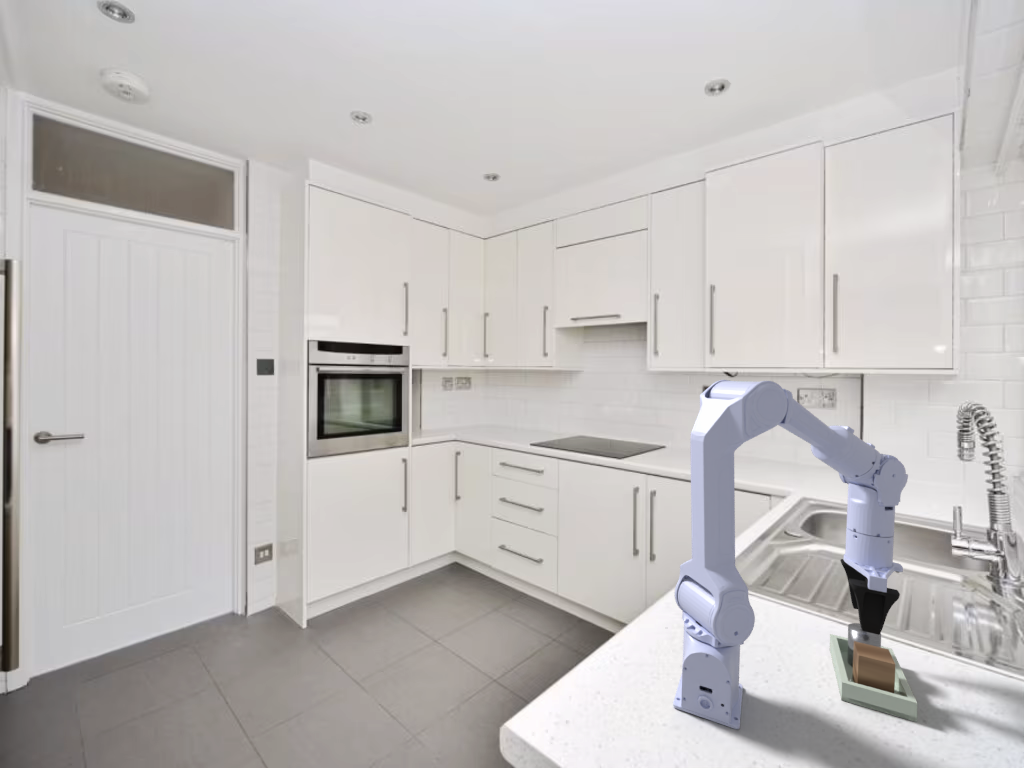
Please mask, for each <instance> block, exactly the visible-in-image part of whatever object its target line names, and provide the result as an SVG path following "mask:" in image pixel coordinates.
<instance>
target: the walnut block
mask: <svg viewBox="0 0 1024 768" xmlns="http://www.w3.org/2000/svg"><path fill="white" fill-rule="evenodd" d="M852 679H853V682H854V683H858V684H861V685H865V686H869V687H872V688H876V689H880V690H883V691H887V692H890V693H894V687H895V662H894V660H893V658H892V656H891V654H890V651H889V649H885V648H881V647H877V646H872V645H868V644H864V643H860V642H856V641H854V650H853V676H852Z"/></svg>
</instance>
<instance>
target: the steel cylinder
mask: <svg viewBox="0 0 1024 768" xmlns="http://www.w3.org/2000/svg"><path fill="white" fill-rule="evenodd" d="M847 627H848V628H847V638H848V659H847V661H848V664H849V665H850V666H851V667H853V650H854V641H856V642H860V643H864V644H868V645H872V646H877V647H881V646H882V632H881V633H880V635H878V634H873V633H869V632H865V631H862V628H861V625H860V622H859V623H857V622H854V623H853V622H850V623H848V625H847Z"/></svg>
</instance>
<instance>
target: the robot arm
mask: <svg viewBox="0 0 1024 768" xmlns="http://www.w3.org/2000/svg"><path fill="white" fill-rule="evenodd" d="M777 426H779V427H781V428H782V429H784V430H786V431H788V432H789V433H791V434H793V435H795V436H797V437H798V438H799V439H802V440H803V441H805V442H806V443H808V444H810V450H811V454H812V455H813V456H814V457H815V458H816V459H818V460H820V461H821V462H822V463H824V464H826V465H827V466H828V467H830V468H832V469H833V470H834V471H836V472H837V473H838V475H839V478H840V480H841V482H842V483H843V484H847V485H848V486H847V487H848V488H847V507H846V508H847V511H846V528H845V551H844V554H843V557H842V558H841V559H840V564H841V565H842V567H843V569H844V572H845V574H846V578H847V582H848V589H849V593H850V600H851V605H852V608H853V609H855V610H857V613H858V621H859V624H860V625H861V628H862V631H865V632H869V633H873V634H878V635H880V633H881V634H882V631H883V627H884V625H885V622H886V619H887V617H888V614H889V612H890V609H891V608H892V606H894V604H895V603H896V602H897V601H898V600H899V599H900V595H901V594H900V592H899V590H898V589H894V588H890V587H888V579H889V577H890V576H891V575H892V574H893V573H894V572H898V573H903V571H904V567H903V565H902V564H901V563H899V562H894V561H893V559H894V542H895V541H894V540H895V539H894V538H895V521H896V520H895V519H896V518H895V517H896V506H898V505H899V504H900V503H901V495H902V492H903V490H904V488H905V487H906V485H907V482H908V478H909V474H908V473H907V472H906V468H905V465H904V464H903V462H901V461H900V460H899V459H898V457H896V456H894V455H892V454H891V455H890V454H886V453H885V454H884V453H880V452H879V451H878V450H877V449H876V446H875V445H874V444H873V443H870V442H865V441H864V440H863V439H861V438H860V437H858V436H857V435H855V434H854V433H855V429H853V428H852V427H850V426H847V425H838V424H837V425H827V424H825V422H823V421H822V420H821V419H819V418H818V417H817V416H815V415H814V413H812V412H811V411H810V410H809V409H807V408H806V407H805V406H803V405H802V404H801V403H799V402H798V401H797V400H796V399H794V396H793V392H792V391H790V390H788V389H786V388H783V387H782V386H781V385H780V384H779V383H777V382H774V381H773V380H760V381H748V380H747V381H744V380H743V381H742V380H741V381H740V380H737V381H736V380H728V379H720V380H716V381H715V382H713V383H712V384H710V386H708V387H707V388H706V389H705V390H704V391H703V392H701V394H699V411H698V414H697V417H696V419H695V421H694V425H693V427H692V430H691V432H690V439H689V440H690V505H691V507H690V513H691V515H690V516H691V518H690V520H691V522H690V523H691V558H690V559H688V560H687V561H684V562H682V563H681V564H680V565H679V577H678V581H677V583H676V585H675V588H674V600H675V604H676V605H677V606H678V608H679V609H680V610H681V611H682V615H681V616H682V617H681V619H682V621H683V640H682V641H683V642H682V643H683V645H682V666H681V675H680V679H679V682H678V685H677V689H676V692H675V695H674V699H673V702H672V706H673V708H674V709H676V710H679V711H682V712H685V713H688V714H691V715H694V716H696V717H699V718H703V719H705V720H708V721H711V722H714V723H717V724H720V725H723V726H726V727H728V728H732V729H734V730H739V729H740V727H741V726H740V725H741V715H742V714H741V713H742V703H743V689H744V686H743V684H742V683H740V664H741V663H740V662H741V658H740V657H741V645H744V644H745V643H744V642H745V641H747V639H748V638H750V636H751V634H752V633H753V629H754V628H755V627H754V626H755V622H756V615H755V611H754V609H753V607H752V605H751V602H750V600H749V599H750V598H749V588H748V586H747V584H746V583H745V581H744V579H743V577H742V576H741V574H740V572H739V570H738V568H737V566H736V519H735V518H736V517H735V515H736V513H735V512H736V511H735V510H736V508H735V507H736V505H735V503H736V502H735V494H736V493H735V492H736V491H735V451H736V450H738V449H739V448H740V447H741V446H742V445H743V444H745V443H746V442H748V441H750V440H752V439H754V438H755V437H758V436H760V435H762V434H764V433H766V432H768V431H770V430H772V429H773V428H775V427H777Z"/></svg>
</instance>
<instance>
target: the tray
mask: <svg viewBox="0 0 1024 768" xmlns="http://www.w3.org/2000/svg"><path fill="white" fill-rule="evenodd" d="M881 648H885V649H889V651H890V654H891V656H892V658H893V660H894V662H895V687H894V693H890V692H887V691H883V690H880V689H876V688H872V687H869V686H865V685H861V684H858V683H854V682H853V679H852V676H853V667H851V666H850V665H849V664H848V661H847V659H848V637H844V636H841V635H835V634H833V633H832V634H831V633H830V634H829V653H830V657H831V661H832V665H833V670H834V674H835V679H836V683H837V687H838V690H839V691H838V692H839V696H840V700H841V701H843V702H846V703H850V704H854V705H856V706H860V707H864V708H866V709H870V710H874V711H876V712H881V713H884V714H887V715H891V716H894V717H898V718H901V719H904V720H907V721H911V722H914V723H917V720H918V702H917V699H916V697H915V695H914V692H913V691H912V688H911V686H910V684H909V682H908V680H907V678H906V675H905V674H904V672H903V669H902V667H901V665H900V663H899V660H898V659H897V657H896V654H895V652H894V650H893V648H890V647H886V646H882V645H881Z"/></svg>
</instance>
